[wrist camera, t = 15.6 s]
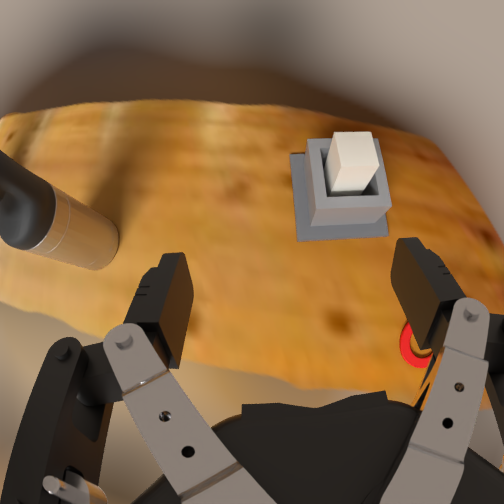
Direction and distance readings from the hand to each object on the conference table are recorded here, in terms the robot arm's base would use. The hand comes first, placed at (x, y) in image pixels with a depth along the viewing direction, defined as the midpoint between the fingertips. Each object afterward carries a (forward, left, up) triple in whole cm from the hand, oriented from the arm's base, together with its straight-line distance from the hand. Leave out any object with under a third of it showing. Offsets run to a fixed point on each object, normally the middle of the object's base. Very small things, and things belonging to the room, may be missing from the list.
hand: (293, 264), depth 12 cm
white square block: (+9, +15, -33) cm, 38 cm away
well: (+10, +15, -34) cm, 39 cm away
